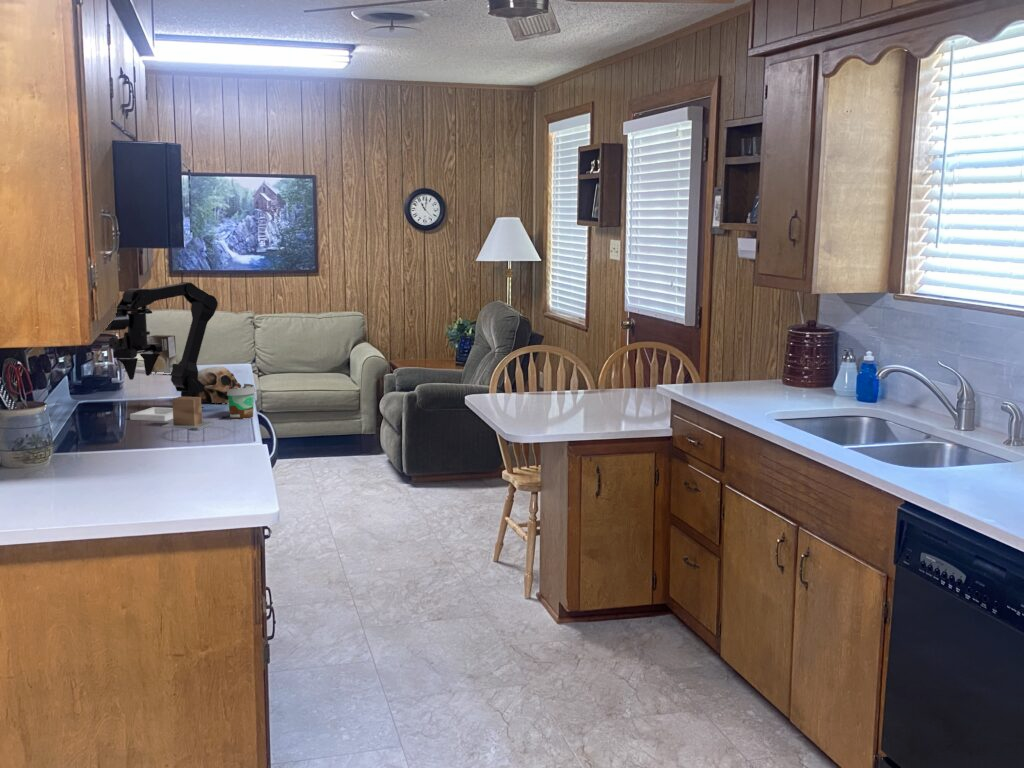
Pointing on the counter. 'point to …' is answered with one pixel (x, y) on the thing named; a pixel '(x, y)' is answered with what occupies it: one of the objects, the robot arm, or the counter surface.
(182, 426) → the slate trivet
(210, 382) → the brown skull
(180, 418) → the walnut block
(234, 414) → the food container
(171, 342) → the coffee box
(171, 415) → the pocket tray
